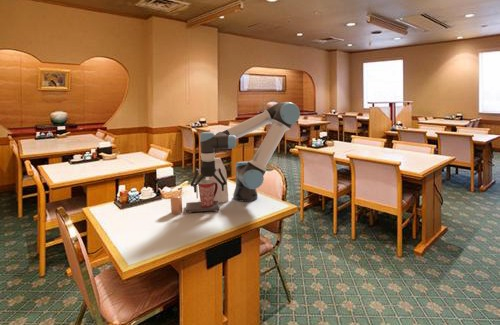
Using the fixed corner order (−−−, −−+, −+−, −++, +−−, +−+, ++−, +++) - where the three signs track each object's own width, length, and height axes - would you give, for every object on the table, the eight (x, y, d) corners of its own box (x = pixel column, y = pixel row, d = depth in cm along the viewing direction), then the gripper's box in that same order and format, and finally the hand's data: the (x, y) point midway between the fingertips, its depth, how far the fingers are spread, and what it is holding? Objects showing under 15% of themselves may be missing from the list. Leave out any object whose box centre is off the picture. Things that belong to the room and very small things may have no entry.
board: (217, 204, 190) (217, 200, 190) (219, 211, 179) (219, 207, 178) (186, 206, 187) (186, 202, 187) (186, 213, 176) (185, 209, 175)
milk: (223, 195, 207) (222, 155, 202) (228, 201, 196) (227, 159, 191) (205, 197, 203) (203, 157, 198) (208, 203, 193) (207, 160, 187)
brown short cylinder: (182, 210, 181) (181, 195, 179) (182, 214, 175) (181, 198, 174) (171, 211, 180) (170, 195, 178) (171, 215, 174) (170, 199, 173)
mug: (206, 208, 176) (204, 184, 174) (195, 205, 182) (194, 182, 180) (223, 202, 185) (222, 180, 183) (212, 199, 191) (211, 177, 189)
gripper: (229, 158, 184) (230, 193, 188) (185, 159, 180) (187, 196, 184) (231, 160, 177) (231, 197, 181) (184, 162, 173) (186, 200, 177)
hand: (209, 197), depth 183 cm, fingers open, 13 cm apart
